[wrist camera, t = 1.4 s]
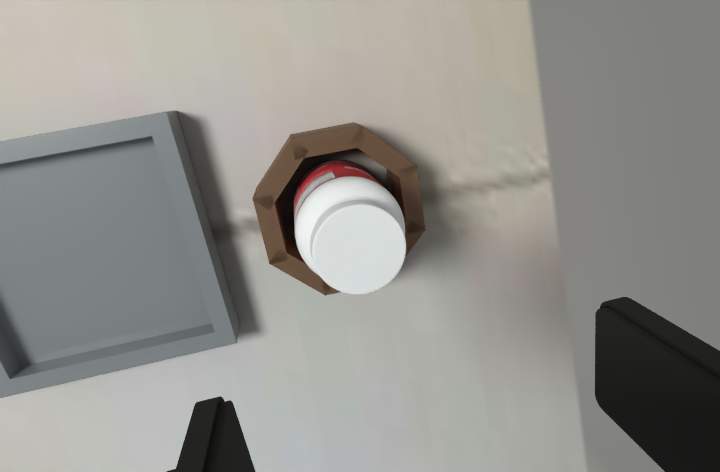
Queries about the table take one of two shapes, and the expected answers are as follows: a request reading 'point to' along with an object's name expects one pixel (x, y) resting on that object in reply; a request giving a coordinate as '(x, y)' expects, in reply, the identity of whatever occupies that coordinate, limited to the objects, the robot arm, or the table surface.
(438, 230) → the table surface
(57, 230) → the tray
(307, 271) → the holder ring
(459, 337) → the table surface
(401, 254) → the pill bottle
